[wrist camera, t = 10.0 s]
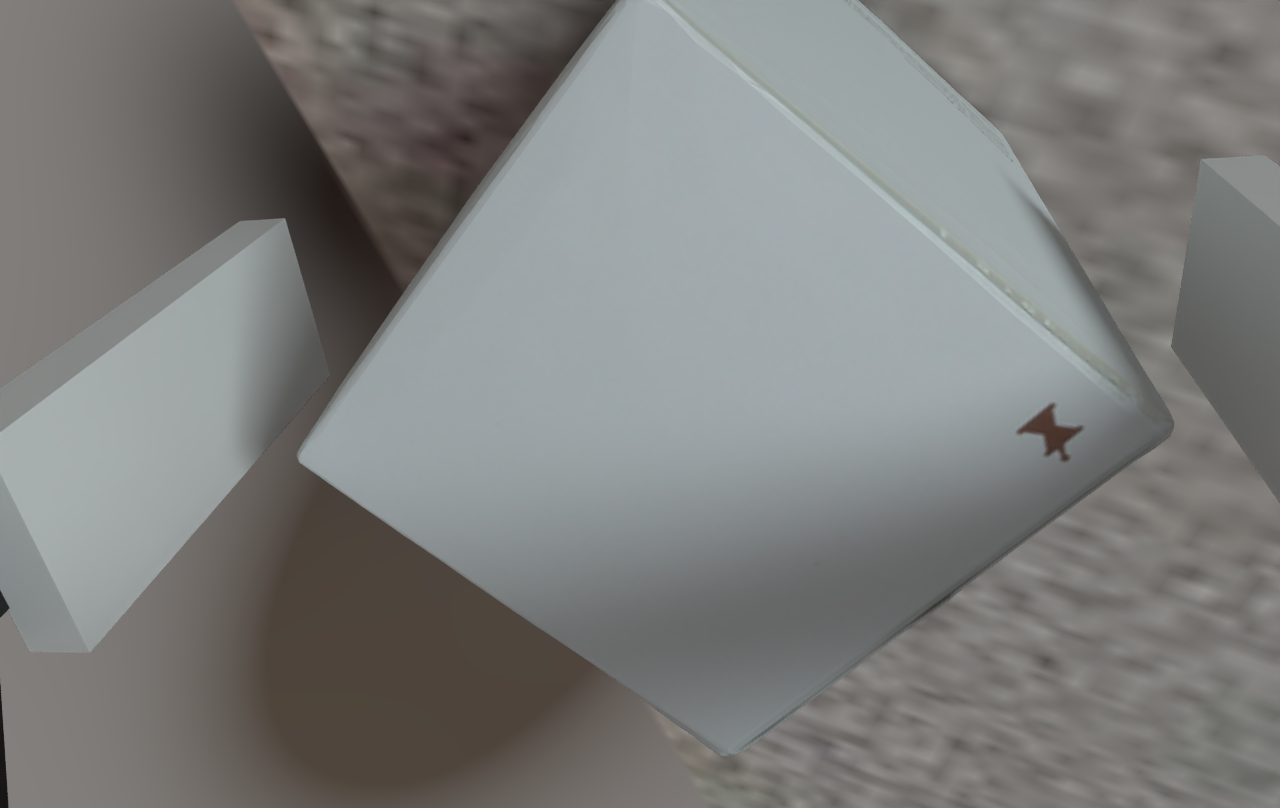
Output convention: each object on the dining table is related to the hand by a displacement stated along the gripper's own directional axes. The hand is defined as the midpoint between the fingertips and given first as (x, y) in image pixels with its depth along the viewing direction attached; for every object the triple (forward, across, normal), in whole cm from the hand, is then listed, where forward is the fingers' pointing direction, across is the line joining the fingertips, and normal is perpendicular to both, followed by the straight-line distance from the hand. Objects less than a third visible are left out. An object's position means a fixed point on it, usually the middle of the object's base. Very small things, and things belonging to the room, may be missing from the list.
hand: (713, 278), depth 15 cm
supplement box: (+8, 0, 0) cm, 8 cm away
